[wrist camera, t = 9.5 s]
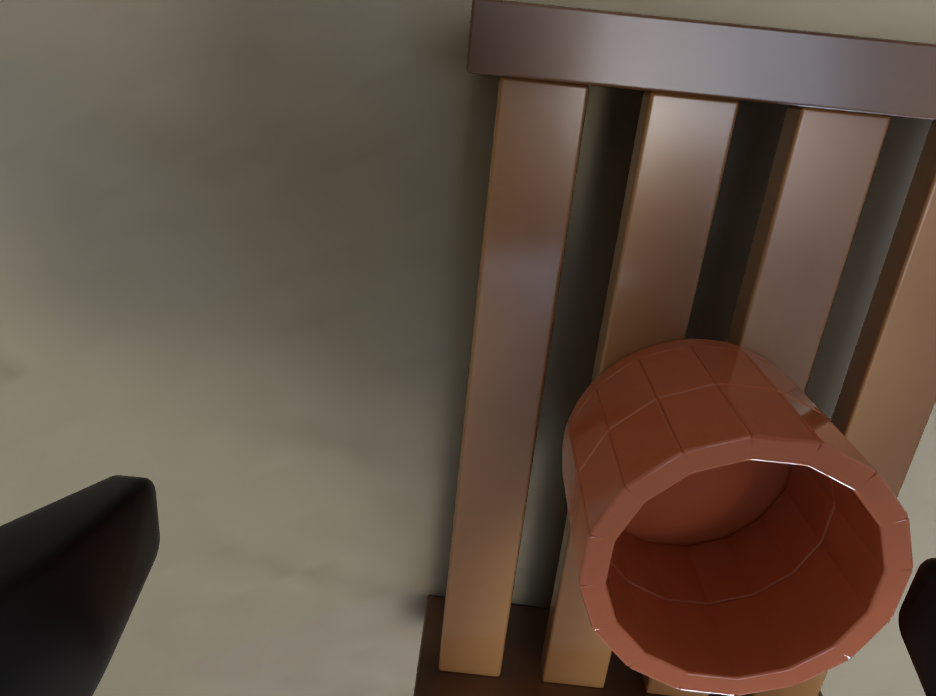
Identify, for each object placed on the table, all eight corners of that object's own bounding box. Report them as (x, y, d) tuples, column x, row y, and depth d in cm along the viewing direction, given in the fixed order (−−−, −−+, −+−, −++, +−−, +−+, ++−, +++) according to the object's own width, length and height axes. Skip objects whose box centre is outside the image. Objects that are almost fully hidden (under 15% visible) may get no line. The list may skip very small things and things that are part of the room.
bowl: (546, 534, 18) (560, 678, 13) (581, 324, 15) (611, 419, 11) (770, 558, 18) (853, 710, 13) (838, 351, 15) (963, 457, 11)
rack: (425, 623, 23) (408, 746, 19) (480, 16, 16) (472, -3, 12) (782, 661, 23) (845, 794, 19) (997, 68, 16) (1176, 68, 12)
